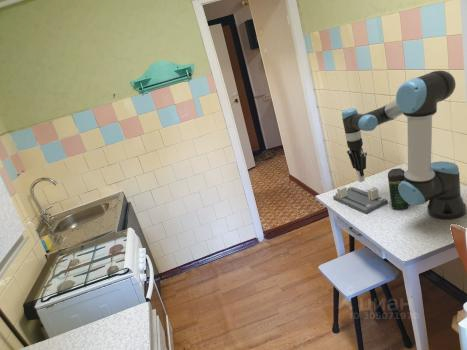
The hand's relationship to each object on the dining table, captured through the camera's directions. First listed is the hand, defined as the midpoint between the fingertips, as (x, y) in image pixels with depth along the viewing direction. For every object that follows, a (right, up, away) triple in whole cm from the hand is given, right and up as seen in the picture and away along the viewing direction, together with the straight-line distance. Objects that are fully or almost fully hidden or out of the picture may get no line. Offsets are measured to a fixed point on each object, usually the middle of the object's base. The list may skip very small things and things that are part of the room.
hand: (361, 181), depth 198 cm
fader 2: (+4, -9, -6) cm, 11 cm away
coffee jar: (+14, -12, -15) cm, 23 cm away
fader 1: (-8, -8, +5) cm, 13 cm away
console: (-1, -11, 0) cm, 11 cm away
